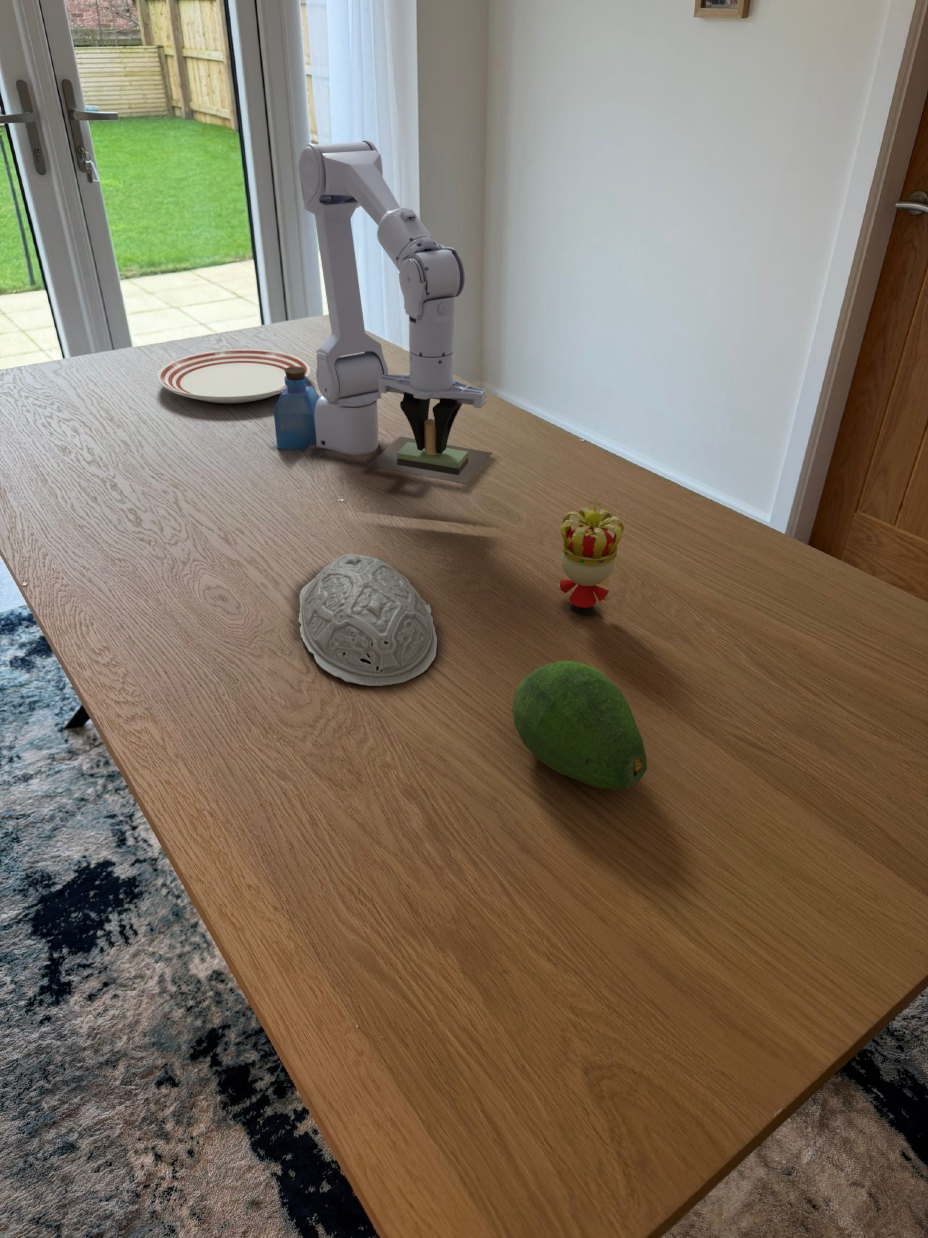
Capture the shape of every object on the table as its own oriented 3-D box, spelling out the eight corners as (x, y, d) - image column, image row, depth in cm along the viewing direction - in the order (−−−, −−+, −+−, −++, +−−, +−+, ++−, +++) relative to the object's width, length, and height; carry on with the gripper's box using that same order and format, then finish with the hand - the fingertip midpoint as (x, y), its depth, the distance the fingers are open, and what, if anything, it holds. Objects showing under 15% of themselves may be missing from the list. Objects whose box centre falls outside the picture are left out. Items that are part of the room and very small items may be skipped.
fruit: (666, 798, 83) (683, 716, 77) (576, 836, 79) (588, 753, 73) (573, 703, 93) (583, 625, 88) (491, 732, 89) (495, 653, 84)
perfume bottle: (324, 435, 148) (319, 364, 142) (315, 450, 143) (309, 377, 136) (287, 432, 149) (280, 361, 142) (277, 448, 144) (269, 375, 137)
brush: (397, 464, 123) (395, 422, 120) (407, 453, 126) (407, 411, 123) (458, 475, 121) (459, 432, 117) (468, 463, 124) (468, 421, 120)
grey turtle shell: (315, 693, 93) (317, 638, 89) (285, 578, 113) (286, 530, 110) (457, 681, 97) (464, 629, 94) (404, 574, 118) (408, 527, 114)
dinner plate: (172, 362, 175) (169, 345, 173) (313, 360, 178) (312, 344, 176) (147, 416, 153) (143, 398, 151) (308, 413, 156) (307, 395, 154)
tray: (368, 472, 137) (367, 465, 137) (400, 442, 147) (399, 436, 146) (465, 491, 133) (465, 483, 132) (492, 459, 142) (492, 452, 141)
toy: (617, 600, 110) (633, 490, 101) (605, 632, 104) (621, 518, 95) (560, 589, 111) (571, 479, 103) (545, 620, 106) (556, 507, 97)
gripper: (366, 351, 113) (370, 451, 121) (474, 367, 109) (471, 469, 117) (389, 336, 119) (392, 432, 126) (493, 350, 115) (489, 449, 122)
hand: (431, 449), depth 122 cm, fingers closed on brush, 2 cm apart
